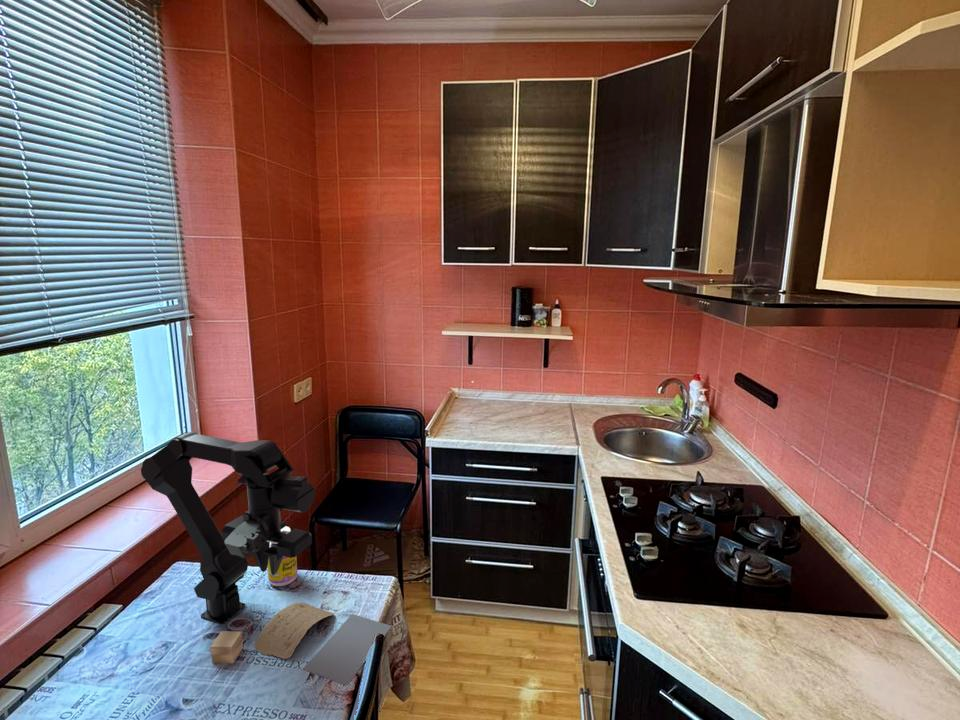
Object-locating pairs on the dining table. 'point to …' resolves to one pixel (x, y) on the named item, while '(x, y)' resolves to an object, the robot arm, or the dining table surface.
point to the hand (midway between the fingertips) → (269, 572)
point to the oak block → (226, 647)
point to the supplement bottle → (283, 569)
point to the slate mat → (346, 649)
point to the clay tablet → (288, 629)
